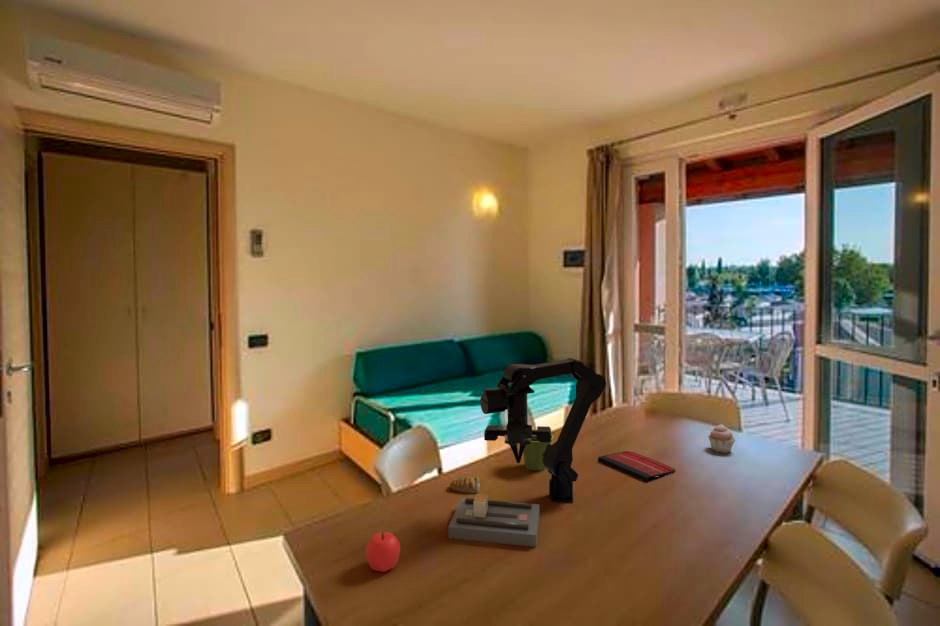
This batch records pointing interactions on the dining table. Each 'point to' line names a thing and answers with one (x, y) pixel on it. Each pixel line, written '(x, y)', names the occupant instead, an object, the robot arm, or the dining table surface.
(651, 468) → the binder
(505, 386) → the robot arm
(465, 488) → the pastry
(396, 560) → the apple
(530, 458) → the plant pot
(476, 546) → the dining table surface
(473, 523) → the slide switch base
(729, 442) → the cupcake
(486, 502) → the switch knob
